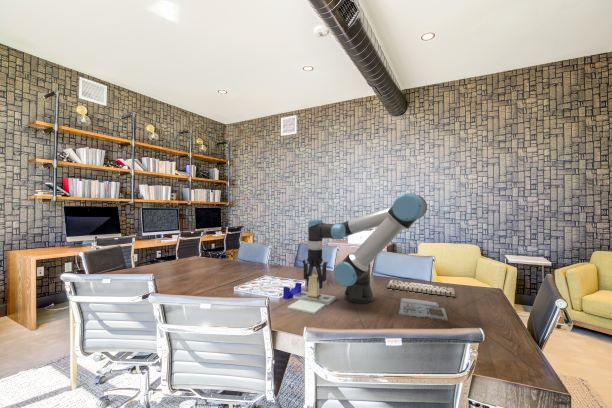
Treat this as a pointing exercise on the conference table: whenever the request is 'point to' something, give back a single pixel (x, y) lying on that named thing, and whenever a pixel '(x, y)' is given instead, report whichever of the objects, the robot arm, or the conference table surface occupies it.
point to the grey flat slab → (420, 308)
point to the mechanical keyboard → (420, 288)
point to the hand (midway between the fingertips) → (314, 293)
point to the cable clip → (289, 294)
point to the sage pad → (306, 306)
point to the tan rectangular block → (313, 286)
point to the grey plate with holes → (322, 299)
